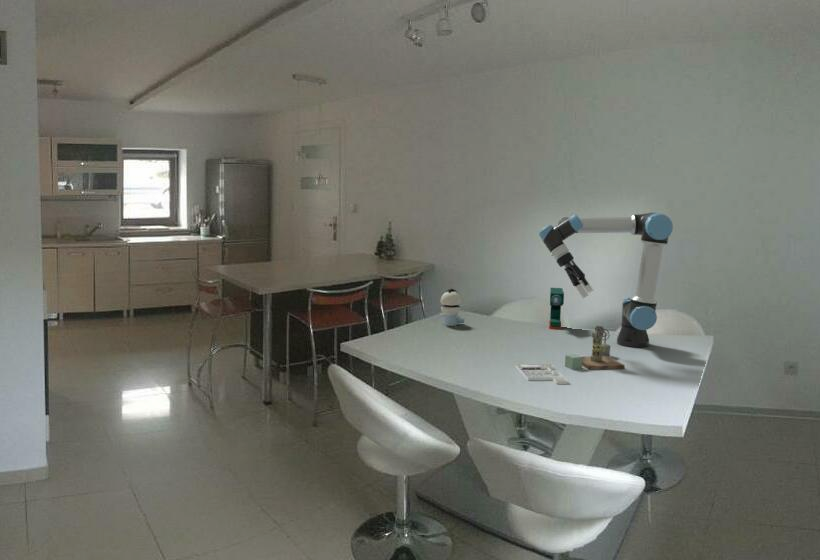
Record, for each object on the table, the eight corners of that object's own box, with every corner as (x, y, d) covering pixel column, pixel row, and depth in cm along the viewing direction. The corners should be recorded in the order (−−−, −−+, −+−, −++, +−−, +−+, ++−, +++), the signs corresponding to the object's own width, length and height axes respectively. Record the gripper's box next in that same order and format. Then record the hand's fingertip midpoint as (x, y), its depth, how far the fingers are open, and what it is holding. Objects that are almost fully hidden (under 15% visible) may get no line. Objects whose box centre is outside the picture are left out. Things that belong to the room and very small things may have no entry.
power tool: (562, 334, 354) (564, 296, 351) (548, 333, 355) (550, 296, 353) (561, 323, 385) (563, 288, 382) (549, 322, 386) (550, 287, 384)
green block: (574, 365, 292) (575, 354, 291) (581, 368, 287) (582, 356, 287) (564, 366, 290) (565, 355, 289) (572, 369, 285) (572, 357, 285)
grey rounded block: (606, 354, 313) (606, 343, 312) (612, 357, 307) (612, 346, 306) (593, 354, 312) (594, 344, 311) (599, 357, 306) (599, 347, 305)
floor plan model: (550, 368, 289) (551, 363, 289) (569, 385, 264) (570, 380, 264) (515, 368, 287) (515, 364, 287) (531, 385, 263) (531, 380, 263)
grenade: (588, 358, 298) (590, 325, 296) (603, 358, 298) (605, 325, 296) (594, 363, 290) (595, 328, 288) (609, 362, 291) (611, 328, 289)
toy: (469, 325, 375) (470, 289, 373) (454, 328, 366) (455, 291, 364) (447, 320, 386) (448, 286, 384) (432, 323, 377) (433, 288, 374)
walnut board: (608, 359, 303) (608, 355, 303) (624, 368, 288) (624, 365, 287) (574, 360, 301) (574, 356, 301) (588, 369, 285) (588, 366, 285)
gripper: (552, 265, 329) (577, 302, 324) (559, 253, 304) (585, 293, 300) (565, 257, 329) (590, 294, 324) (573, 245, 305) (600, 285, 300)
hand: (588, 294), depth 312 cm, fingers open, 13 cm apart
